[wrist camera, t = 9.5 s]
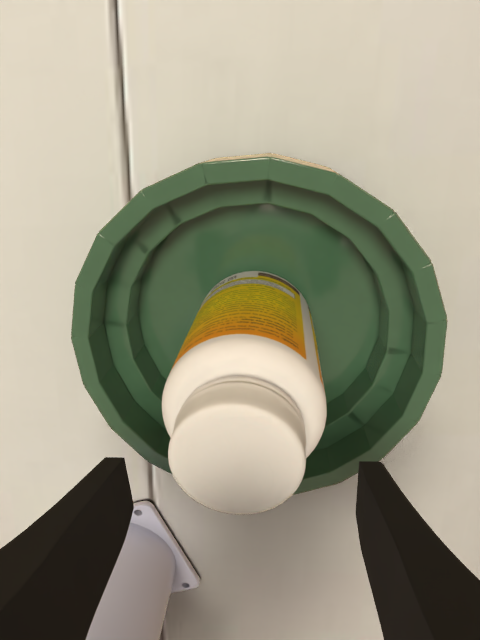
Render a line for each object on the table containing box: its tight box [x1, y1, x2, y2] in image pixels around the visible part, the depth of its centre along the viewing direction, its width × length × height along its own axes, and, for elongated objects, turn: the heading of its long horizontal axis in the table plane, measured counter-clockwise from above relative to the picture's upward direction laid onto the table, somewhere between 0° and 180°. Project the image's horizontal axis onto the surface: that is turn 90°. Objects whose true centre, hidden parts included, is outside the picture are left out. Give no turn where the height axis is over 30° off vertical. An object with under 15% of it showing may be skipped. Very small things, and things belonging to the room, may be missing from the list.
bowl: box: [71, 153, 447, 495], centre depth 20 cm, size 16×16×4 cm
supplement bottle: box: [162, 271, 327, 514], centre depth 17 cm, size 6×6×10 cm
